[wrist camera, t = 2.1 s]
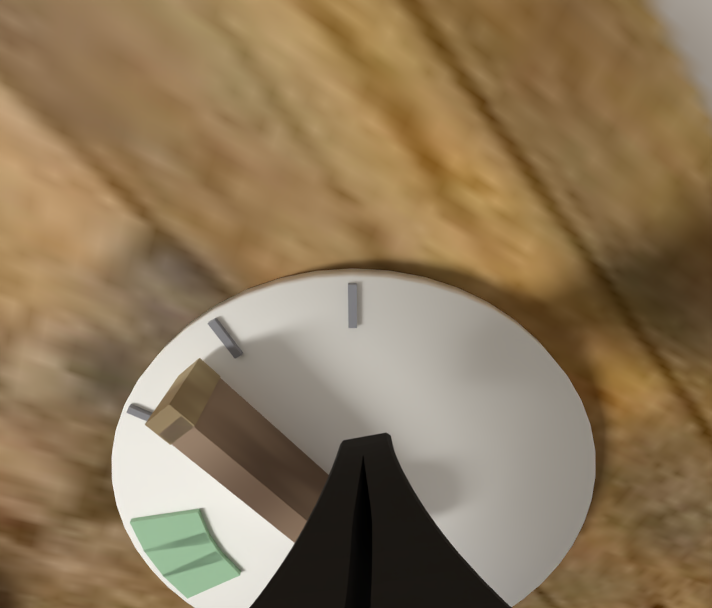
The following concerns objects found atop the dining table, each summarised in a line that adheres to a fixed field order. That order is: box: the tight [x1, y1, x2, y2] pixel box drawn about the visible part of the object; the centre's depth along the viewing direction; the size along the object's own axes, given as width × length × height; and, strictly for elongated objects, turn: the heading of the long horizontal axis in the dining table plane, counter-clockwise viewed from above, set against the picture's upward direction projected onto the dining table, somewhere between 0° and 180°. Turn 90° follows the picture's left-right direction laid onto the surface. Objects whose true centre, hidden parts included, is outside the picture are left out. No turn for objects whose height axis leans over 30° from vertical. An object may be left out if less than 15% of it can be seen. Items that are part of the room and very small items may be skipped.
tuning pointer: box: [145, 358, 329, 543], centre depth 16 cm, size 11×3×3 cm, turn 40°
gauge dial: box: [112, 268, 595, 608], centre depth 19 cm, size 20×20×1 cm
